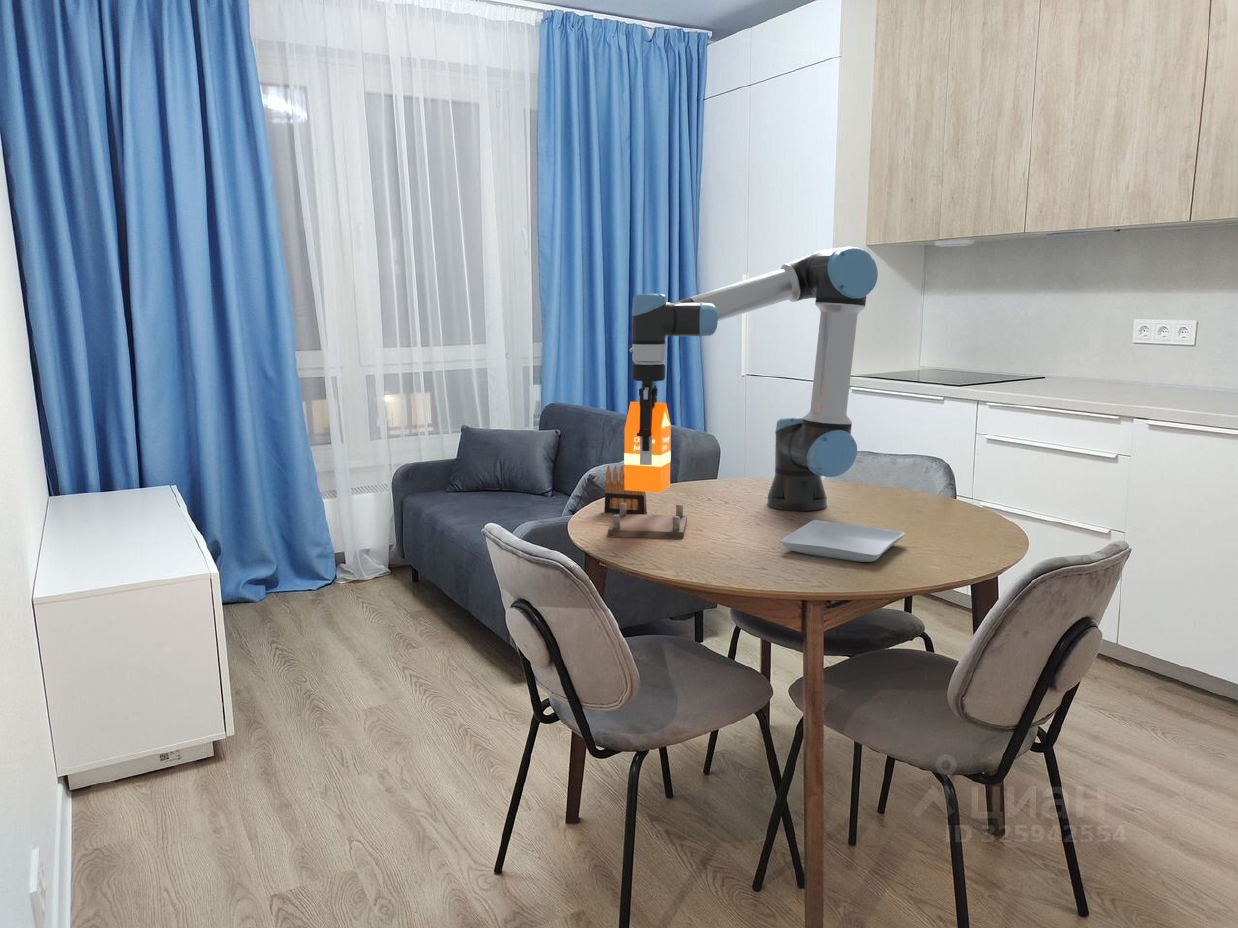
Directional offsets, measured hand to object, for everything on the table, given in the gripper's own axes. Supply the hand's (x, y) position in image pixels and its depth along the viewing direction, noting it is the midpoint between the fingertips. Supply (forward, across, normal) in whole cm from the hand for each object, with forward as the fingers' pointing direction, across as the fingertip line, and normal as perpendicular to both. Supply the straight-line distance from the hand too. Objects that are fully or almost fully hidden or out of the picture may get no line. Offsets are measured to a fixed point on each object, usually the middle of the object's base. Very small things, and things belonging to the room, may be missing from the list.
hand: (647, 461), depth 210 cm
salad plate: (+16, +13, +43) cm, 48 cm away
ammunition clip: (+16, -16, -7) cm, 24 cm away
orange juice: (+7, 0, 0) cm, 7 cm away
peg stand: (+16, 0, 0) cm, 16 cm away
